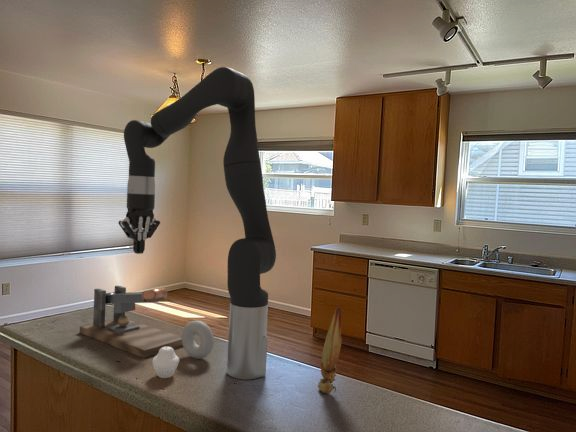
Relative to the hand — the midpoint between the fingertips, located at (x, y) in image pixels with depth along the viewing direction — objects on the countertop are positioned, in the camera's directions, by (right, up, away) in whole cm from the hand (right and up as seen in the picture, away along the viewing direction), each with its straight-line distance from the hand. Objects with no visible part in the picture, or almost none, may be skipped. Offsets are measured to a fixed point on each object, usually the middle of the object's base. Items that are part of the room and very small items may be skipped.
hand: (138, 253), depth 128 cm
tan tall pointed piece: (+51, -30, -28) cm, 65 cm away
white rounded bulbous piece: (+14, -27, -22) cm, 38 cm away
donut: (+19, -27, -10) cm, 34 cm away
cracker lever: (-3, -17, +2) cm, 17 cm away
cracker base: (-3, -25, +2) cm, 25 cm away
